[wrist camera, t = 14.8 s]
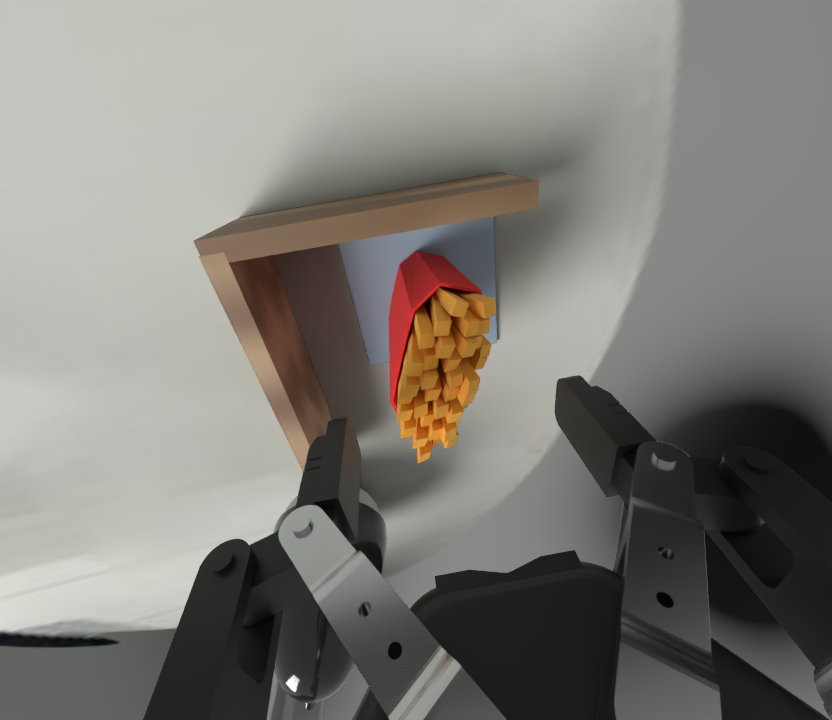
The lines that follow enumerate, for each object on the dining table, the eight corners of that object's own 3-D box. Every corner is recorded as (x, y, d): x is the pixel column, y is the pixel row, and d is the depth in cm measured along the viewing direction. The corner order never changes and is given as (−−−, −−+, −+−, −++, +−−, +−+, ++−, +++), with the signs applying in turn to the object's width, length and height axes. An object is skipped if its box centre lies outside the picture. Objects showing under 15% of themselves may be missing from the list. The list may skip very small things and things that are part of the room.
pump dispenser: (283, 528, 37) (231, 731, 24) (284, 460, 32) (219, 674, 19) (377, 531, 39) (376, 722, 26) (393, 468, 34) (402, 668, 21)
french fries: (432, 349, 27) (465, 475, 16) (381, 342, 26) (383, 469, 16) (463, 238, 22) (534, 315, 12) (404, 225, 22) (427, 295, 11)
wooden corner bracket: (503, 416, 31) (527, 468, 26) (328, 446, 31) (318, 504, 26) (499, 172, 21) (538, 180, 16) (237, 218, 21) (191, 241, 16)
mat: (495, 341, 27) (496, 343, 27) (370, 362, 27) (370, 365, 27) (492, 204, 22) (493, 204, 21) (336, 231, 22) (335, 232, 21)
